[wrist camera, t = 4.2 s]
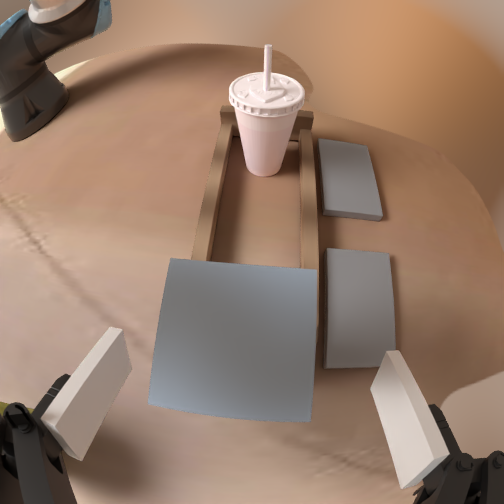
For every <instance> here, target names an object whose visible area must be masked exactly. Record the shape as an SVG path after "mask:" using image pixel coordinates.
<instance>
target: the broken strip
mask: <svg viewBox="0 0 504 504" xmlns="http://www.w3.org/2000/svg"><path fill="white" fill-rule="evenodd" d="M317 150H318V160H319V171H320V184H321V197H322V214H323V215H327V216H337V217H346V218H356V219H364V220H373V221H380V220H381V218H382V217H383V213H382V208H381V203H380V198H379V193H378V188H377V184H376V179H375V175H374V171H373V167H372V163H371V159H370V155H369V151H368V147H367V146H366V145H360V144H354V143H348V142H342V141H335V140H328V139H320V138H318V142H317ZM324 264H325V331H324V360H323V368H369V367H380V365H381V363H382V360H383V358H384V356H385V353H386V351H395V350H396V341H395V315H394V299H393V287H392V277H391V267H390V259H389V253H381V252H370V251H358V250H346V249H334V248H327V249H326V250H325V252H324Z"/></svg>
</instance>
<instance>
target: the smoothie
mask: <svg viewBox="0 0 504 504" xmlns="http://www.w3.org/2000/svg"><path fill="white" fill-rule="evenodd" d="M271 63H272V45H271V44H266V45H265V51H264V72H257V73H250V74H247V75H244V76H241V77H239V78H237V79H236V80H234V81H233V82H232V83H231V85H230V87H229V101H230V103H231V105H233V106H234V108H235V113H236V118H237V122H238V127H239V132H240V137H241V142H242V146H243V151H244V156H245V161H246V166H247V169H248V170H249V171H250V172H251V173H252V174H254V175H257V176H261V177H268V176H272V175H274V174H276V173H277V172H278V171H279V170H280V168H281V164H282V161H283V158H284V155H285V151H286V148H287V145H288V142H289V138H290V135H291V132H292V129H293V125H294V122H295V119H296V116H297V112H298V110H300V109H301V107H302V106H303V105H304V100H305V99H304V96H305V90H304V88H303V86H302V85H301V84H300V83H299V82H298V81H296V80H295V79H293V78H291V77H288V76H286V75H282V74H278V73H271Z"/></svg>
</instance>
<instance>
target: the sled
mask: <svg viewBox="0 0 504 504" xmlns="http://www.w3.org/2000/svg"><path fill="white" fill-rule="evenodd" d="M220 115H221V127H220V131H219V135H218V139H217V143H216V147H215V151H214V155H213V159H212V163H211V167H210V171H209V176H208V180H207V184H206V189H205V193H204V198H203V202H202V207H201V211H200V216H199V221H198V226H197V231H196V236H195V241H194V246H193V251H192V257H191V260H186V259H175V258H170V263H169V268H168V273H167V278H166V283H165V288H164V293H163V299H162V304H161V310H160V316H159V322H158V328H157V334H156V341H155V348H154V355H153V362H152V370H151V379H150V388H149V397H148V404H150V405H154V406H159V407H163V408H168V409H173V410H178V411H184V412H190V413H196V414H202V415H209V416H216V417H224V418H234V419H244V420H257V421H276V422H311V413H312V400H313V386H314V370H315V350H316V343H318V319H319V252H318V220H317V199H316V182H315V168H314V155H313V144H312V133H311V129H312V124H313V119H314V117H313V112H311V111H303V110H298V112H297V116H296V119H295V122H294V125H293V129H292V132H291V135H290V138H289V140H299V164H300V220H301V241H300V268H287V267H274V266H260V265H247V264H235V263H222V262H210V259H211V253H212V247H213V241H214V235H215V229H216V223H217V217H218V211H219V205H220V200H221V194H222V189H223V183H224V178H225V173H226V168H227V162H228V157H229V152H230V147H231V142H232V137H233V136H240V132H239V127H238V122H237V118H236V113H235V108H234V106H222V107H221V111H220Z"/></svg>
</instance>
